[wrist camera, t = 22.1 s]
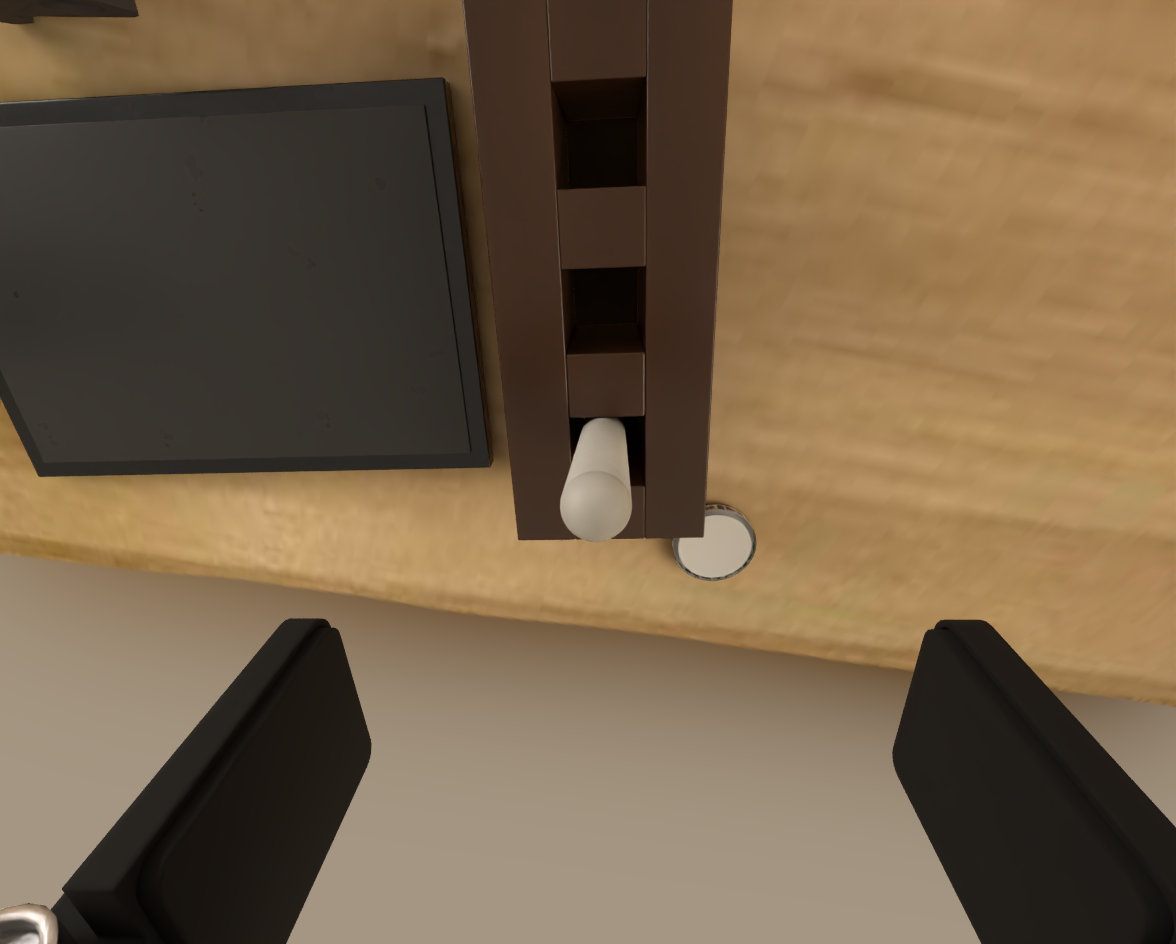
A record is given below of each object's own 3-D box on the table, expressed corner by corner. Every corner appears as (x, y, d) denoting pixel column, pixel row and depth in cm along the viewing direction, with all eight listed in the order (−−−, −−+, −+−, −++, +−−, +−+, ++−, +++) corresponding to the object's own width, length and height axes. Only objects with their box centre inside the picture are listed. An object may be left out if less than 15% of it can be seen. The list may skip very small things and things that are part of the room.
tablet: (449, 82, 20) (442, 76, 19) (494, 461, 26) (490, 468, 25) (-115, 114, 21) (-145, 109, 20) (53, 470, 27) (35, 478, 26)
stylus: (623, 394, 25) (633, 480, 11) (623, 429, 25) (633, 552, 12) (587, 395, 25) (554, 481, 11) (588, 430, 25) (557, 554, 12)
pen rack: (699, 41, 19) (735, -34, 14) (684, 473, 26) (704, 538, 21) (501, 52, 20) (459, -16, 14) (537, 475, 26) (517, 540, 21)
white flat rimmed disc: (749, 573, 28) (752, 581, 27) (670, 574, 28) (672, 582, 28) (757, 503, 26) (760, 510, 26) (672, 505, 27) (674, 511, 26)
